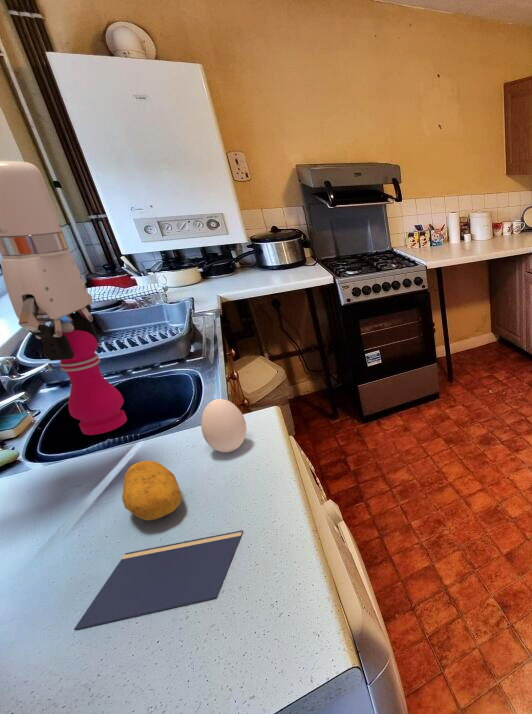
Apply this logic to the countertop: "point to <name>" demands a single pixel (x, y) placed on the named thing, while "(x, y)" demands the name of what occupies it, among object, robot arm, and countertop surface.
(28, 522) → the countertop surface
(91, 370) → the pepper mill
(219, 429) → the egg
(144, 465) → the potato
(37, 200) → the robot arm
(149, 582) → the napkin
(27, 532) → the countertop surface
